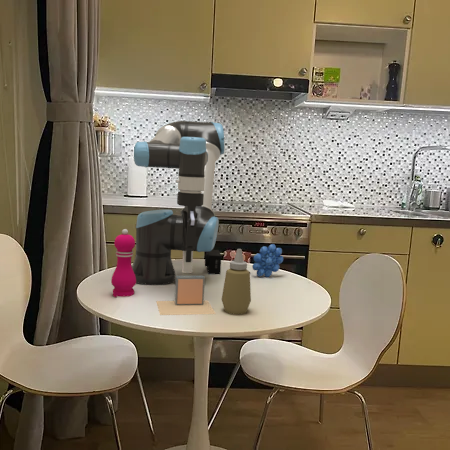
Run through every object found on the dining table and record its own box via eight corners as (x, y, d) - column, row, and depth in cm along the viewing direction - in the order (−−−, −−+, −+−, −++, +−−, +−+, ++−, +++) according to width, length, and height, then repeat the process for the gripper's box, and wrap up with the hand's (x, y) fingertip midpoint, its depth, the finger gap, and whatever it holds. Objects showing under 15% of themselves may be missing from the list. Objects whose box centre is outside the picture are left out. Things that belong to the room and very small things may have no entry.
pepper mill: (114, 299, 148) (116, 231, 145) (108, 293, 154) (109, 227, 151) (138, 297, 151) (141, 230, 148) (131, 291, 157) (133, 226, 154)
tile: (174, 303, 146) (175, 275, 145) (202, 302, 148) (203, 275, 146) (175, 305, 144) (176, 277, 142) (203, 305, 145) (204, 277, 144)
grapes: (277, 273, 190) (279, 241, 188) (284, 278, 183) (287, 245, 182) (247, 274, 186) (249, 241, 184) (254, 279, 180) (256, 245, 178)
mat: (156, 303, 147) (156, 301, 147) (207, 302, 150) (207, 300, 150) (160, 317, 135) (160, 314, 135) (215, 316, 138) (215, 313, 138)
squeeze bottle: (228, 318, 137) (232, 252, 134) (216, 309, 144) (219, 246, 141) (255, 316, 140) (259, 251, 137) (242, 307, 147) (246, 245, 145)
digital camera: (203, 267, 193) (204, 249, 192) (217, 267, 194) (218, 249, 193) (205, 274, 183) (206, 255, 182) (220, 274, 184) (221, 255, 183)
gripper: (174, 189, 152) (171, 267, 155) (180, 193, 140) (177, 277, 143) (199, 190, 154) (196, 267, 157) (207, 194, 141) (203, 277, 144)
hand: (187, 272), depth 150 cm, fingers closed
